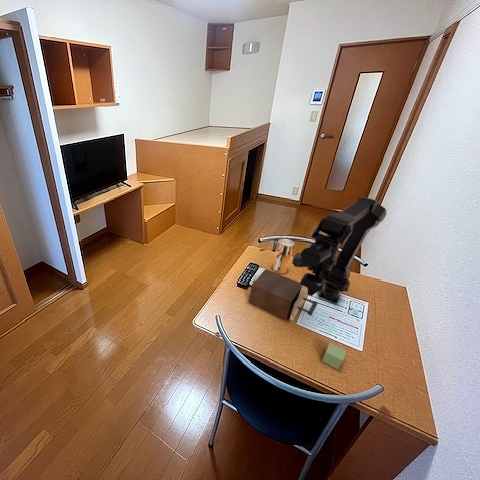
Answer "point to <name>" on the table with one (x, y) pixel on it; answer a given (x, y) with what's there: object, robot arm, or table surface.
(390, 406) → the table surface
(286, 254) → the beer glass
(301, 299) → the drawer
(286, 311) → the cabinet
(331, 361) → the block
